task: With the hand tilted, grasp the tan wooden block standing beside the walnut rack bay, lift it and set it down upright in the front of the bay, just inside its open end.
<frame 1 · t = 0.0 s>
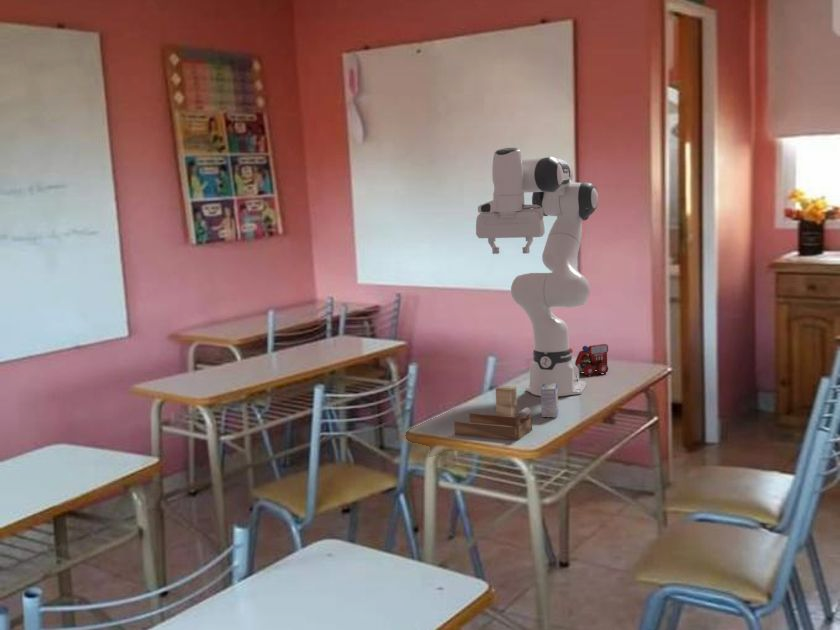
hand: (510, 253, 265), 48 cm above the table, tool pointing down, fingers open, 8 cm apart
rack bay: (493, 432, 254), on the table
tan wooden block: (507, 421, 265), on the table
toy fire truck: (591, 374, 324), on the table
medicine box: (550, 415, 271), on the table
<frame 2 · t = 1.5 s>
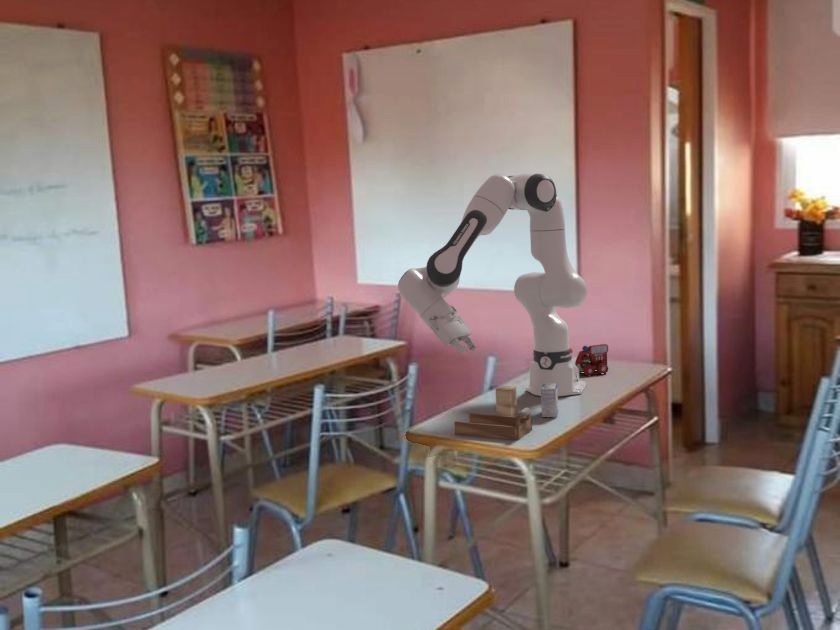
hand: (469, 351, 266), 20 cm above the table, tool tilted 45°, fingers open, 8 cm apart
nothing on the table moved.
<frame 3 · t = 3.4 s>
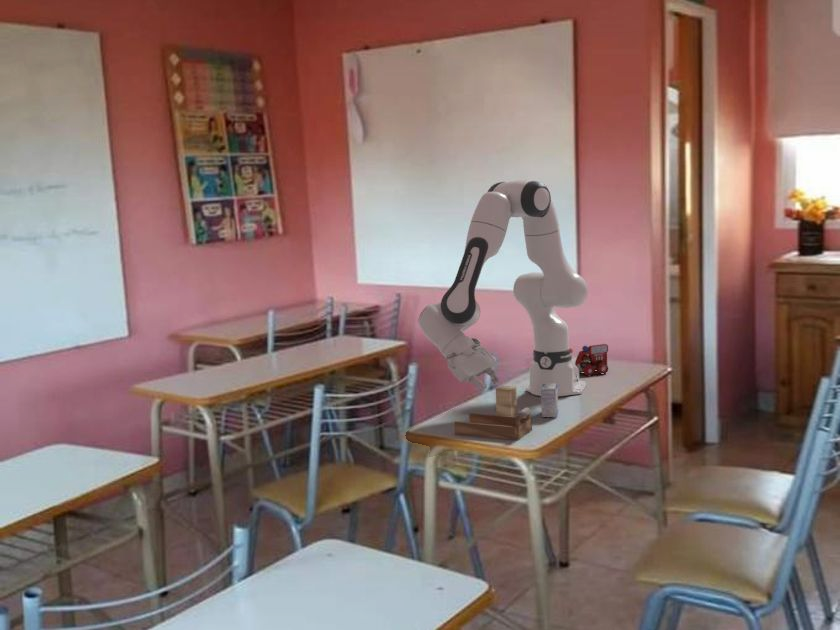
hand: (491, 385, 266), 10 cm above the table, tool tilted 45°, fingers open, 8 cm apart
nothing on the table moved.
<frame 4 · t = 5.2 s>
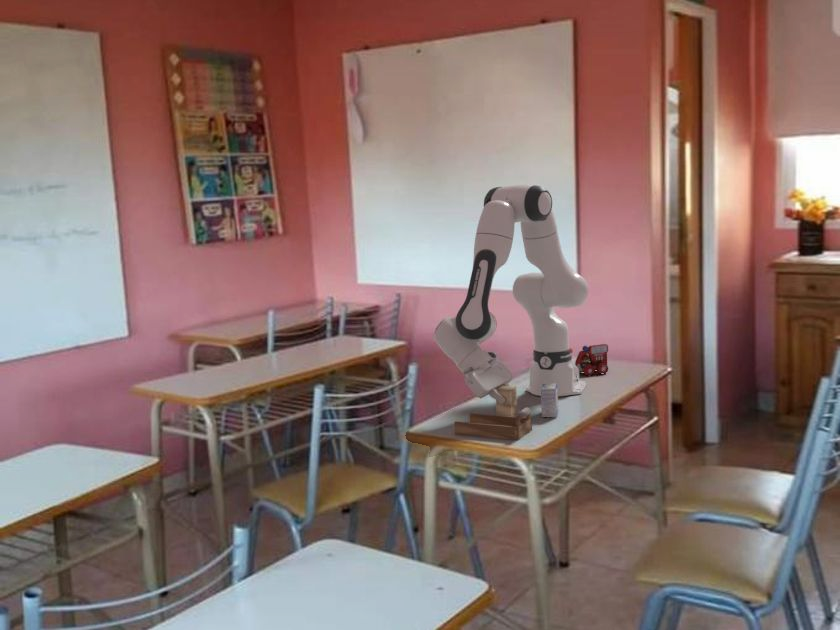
hand: (508, 399, 264), 6 cm above the table, tool tilted 45°, fingers closed on tan wooden block, 4 cm apart
tan wooden block: (507, 421, 265), on the table, touching gripper
everything else where it was.
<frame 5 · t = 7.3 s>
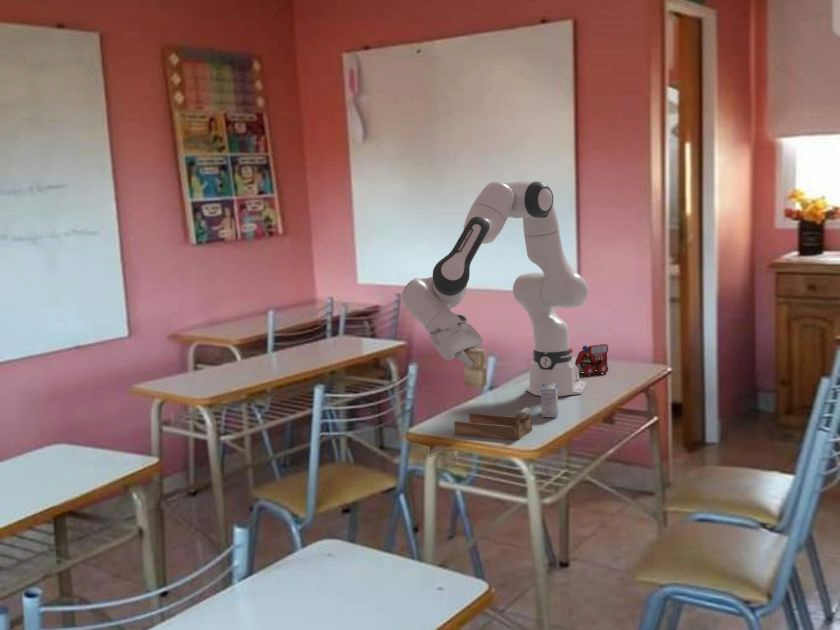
hand: (477, 363, 254), 19 cm above the table, tool tilted 45°, fingers closed on tan wooden block, 4 cm apart
tan wooden block: (475, 385, 255), point 13 cm above the table, touching gripper
everything else where it was.
when the fingers open (8 cm above the table, at t = 9.8 s): tan wooden block stays where it is, resting on rack bay.
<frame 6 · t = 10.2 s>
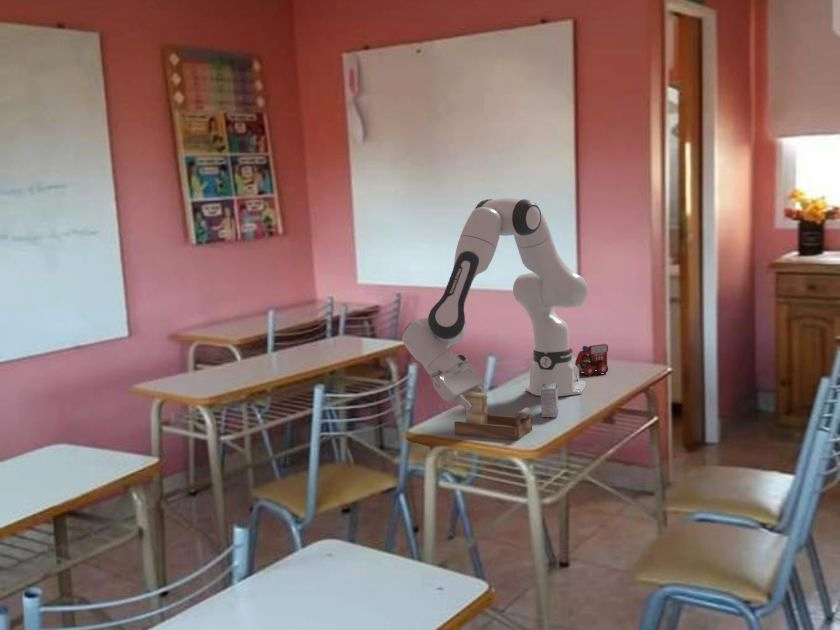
hand: (478, 404, 255), 8 cm above the table, tool tilted 45°, fingers open, 8 cm apart
tan wooden block: (477, 429, 257), resting on rack bay
everything else where it was.
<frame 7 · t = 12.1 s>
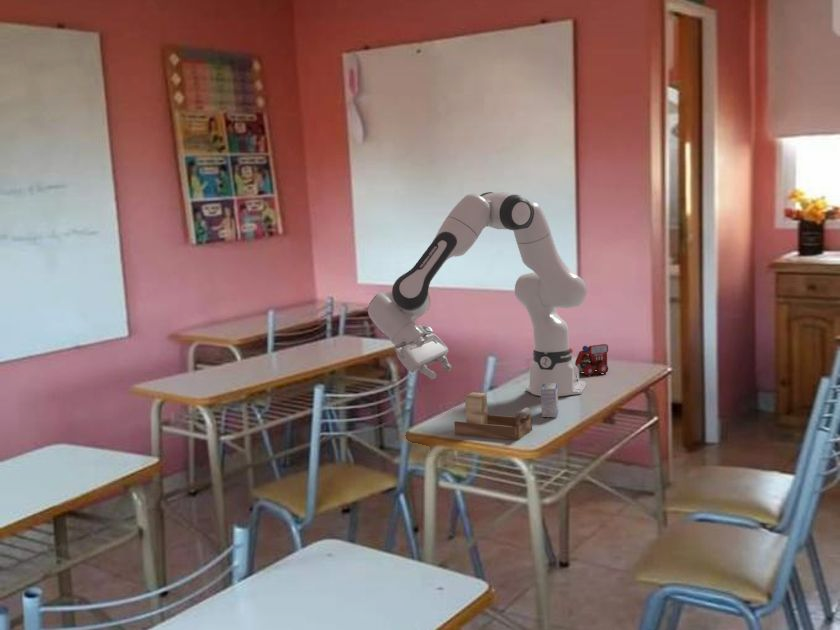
hand: (442, 373, 263), 15 cm above the table, tool tilted 45°, fingers open, 8 cm apart
nothing on the table moved.
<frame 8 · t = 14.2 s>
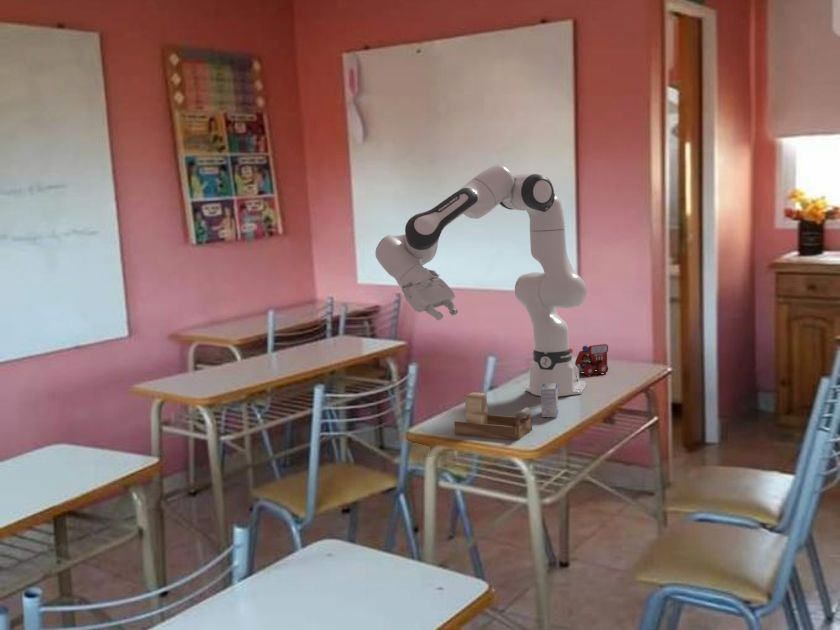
hand: (448, 316, 263), 31 cm above the table, tool tilted 45°, fingers open, 8 cm apart
nothing on the table moved.
at the end: tan wooden block inside the target area (0.5 cm from its centre), resting on rack bay; tan wooden block tilted 0°; the gripper is holding nothing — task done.
